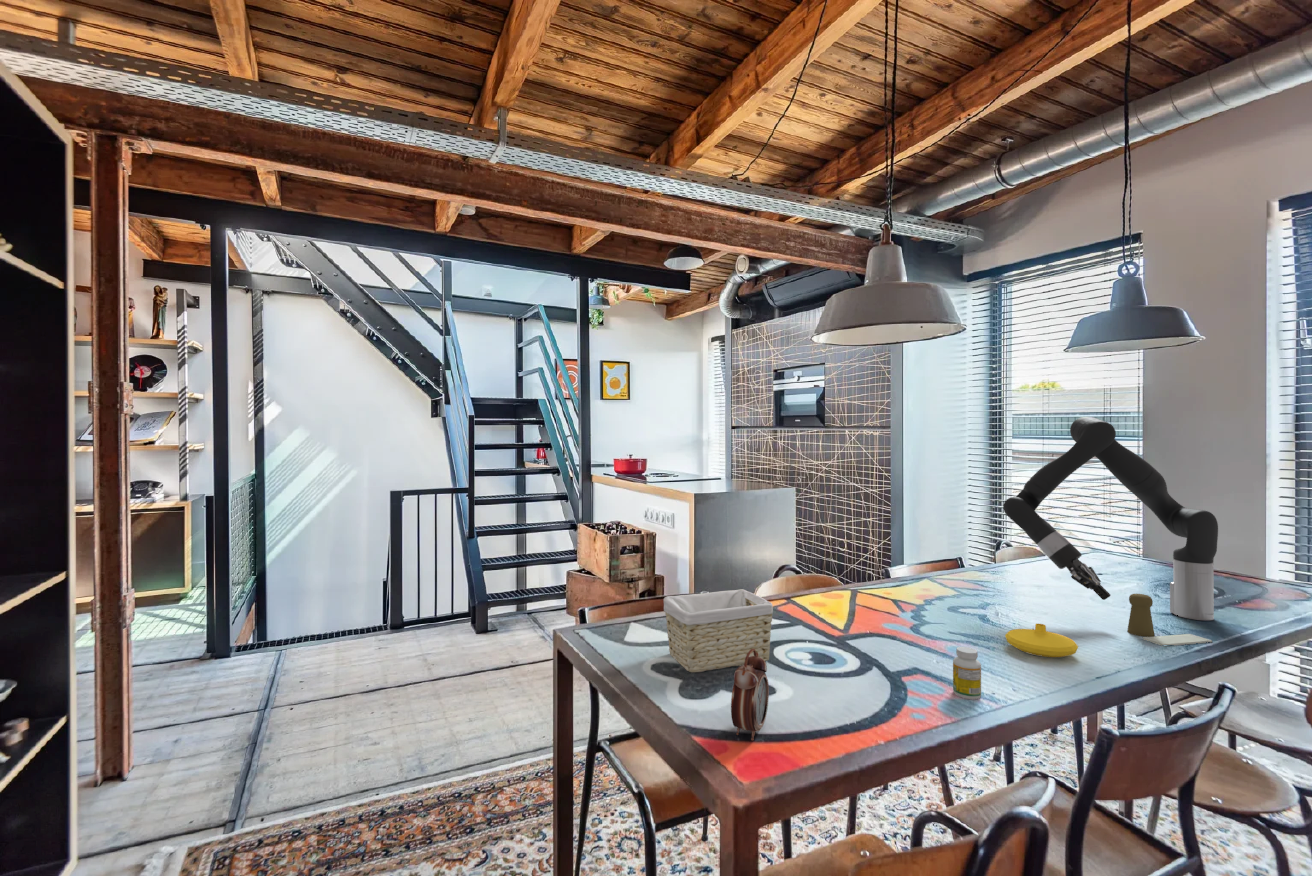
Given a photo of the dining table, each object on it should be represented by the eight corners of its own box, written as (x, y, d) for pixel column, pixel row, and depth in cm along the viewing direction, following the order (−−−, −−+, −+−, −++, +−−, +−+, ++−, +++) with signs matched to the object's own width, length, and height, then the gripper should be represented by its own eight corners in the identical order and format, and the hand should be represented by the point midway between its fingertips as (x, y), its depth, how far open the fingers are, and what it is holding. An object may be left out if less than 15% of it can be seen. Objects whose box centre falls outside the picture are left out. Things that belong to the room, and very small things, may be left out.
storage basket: (685, 677, 136) (685, 612, 136) (661, 653, 151) (661, 595, 151) (776, 664, 144) (776, 603, 144) (744, 642, 159) (744, 587, 159)
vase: (1066, 645, 157) (1066, 619, 157) (1088, 667, 142) (1088, 637, 142) (998, 639, 162) (998, 613, 162) (1013, 659, 147) (1013, 630, 147)
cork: (1159, 637, 163) (1159, 597, 163) (1134, 636, 164) (1134, 596, 164) (1146, 630, 169) (1146, 592, 169) (1122, 629, 170) (1122, 591, 170)
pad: (1142, 639, 162) (1142, 637, 162) (1189, 635, 165) (1189, 633, 165) (1163, 646, 156) (1164, 644, 156) (1212, 642, 159) (1212, 640, 159)
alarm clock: (754, 747, 104) (754, 662, 104) (728, 741, 106) (728, 658, 106) (769, 721, 114) (770, 643, 114) (745, 716, 116) (745, 639, 116)
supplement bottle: (978, 702, 122) (978, 656, 122) (950, 695, 126) (949, 650, 126) (983, 694, 126) (983, 649, 126) (956, 687, 130) (956, 643, 130)
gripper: (1061, 544, 176) (1112, 594, 166) (1076, 540, 184) (1125, 587, 175) (1041, 559, 180) (1089, 609, 170) (1056, 554, 188) (1103, 601, 179)
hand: (1107, 597), depth 172 cm, fingers closed
